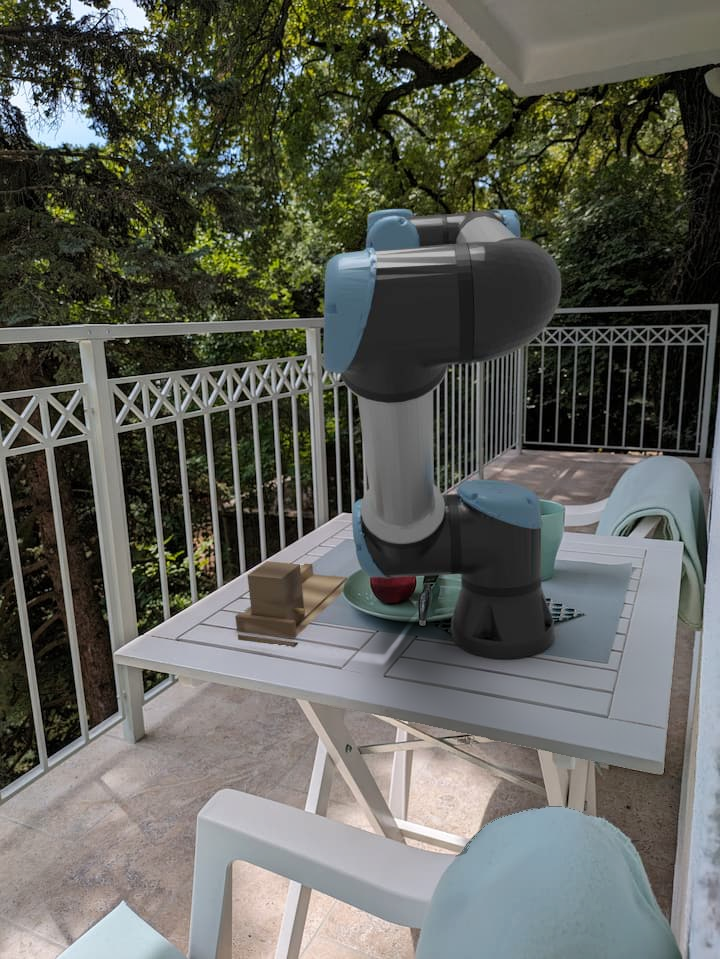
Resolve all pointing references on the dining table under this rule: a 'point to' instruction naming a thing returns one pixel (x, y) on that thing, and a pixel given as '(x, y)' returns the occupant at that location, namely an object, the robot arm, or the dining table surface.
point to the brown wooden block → (277, 591)
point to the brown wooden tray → (315, 598)
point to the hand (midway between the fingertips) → (403, 450)
